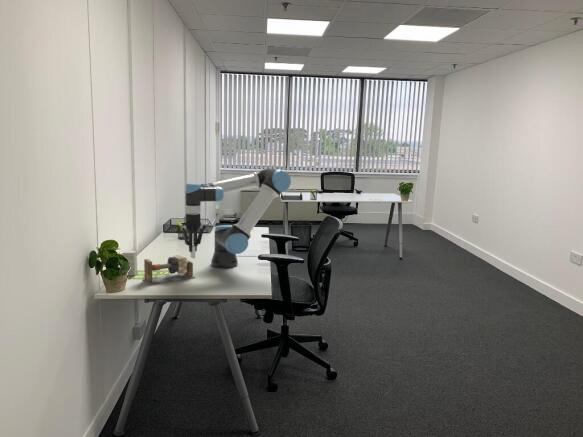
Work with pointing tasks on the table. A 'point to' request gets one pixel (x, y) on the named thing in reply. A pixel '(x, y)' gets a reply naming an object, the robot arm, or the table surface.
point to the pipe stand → (168, 278)
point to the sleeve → (181, 264)
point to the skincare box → (131, 261)
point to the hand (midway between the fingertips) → (192, 257)
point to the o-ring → (174, 266)
